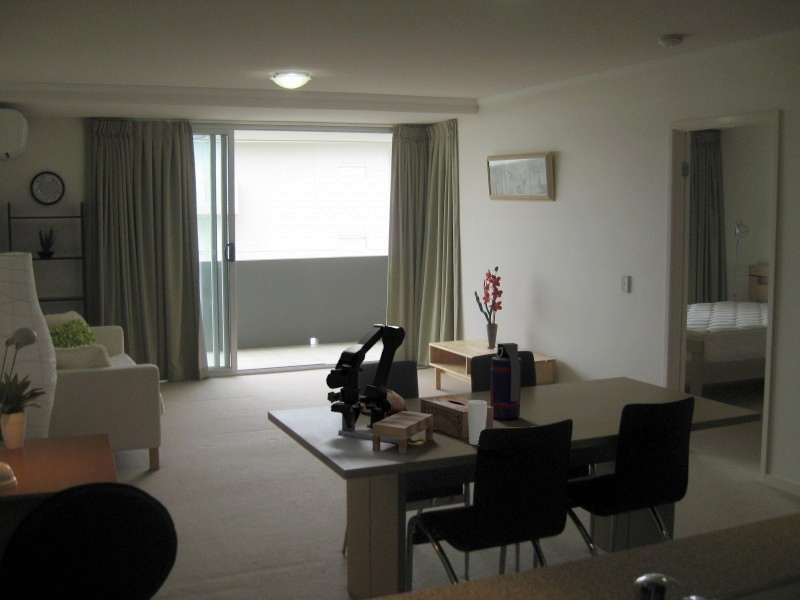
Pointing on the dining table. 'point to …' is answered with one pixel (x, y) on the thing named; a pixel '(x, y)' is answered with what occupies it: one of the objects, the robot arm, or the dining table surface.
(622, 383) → the dining table surface
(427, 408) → the tissue box cover
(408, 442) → the brass token
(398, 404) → the bread
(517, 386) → the grenade
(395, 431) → the wooden footstool
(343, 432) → the blade tool
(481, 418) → the drinking glass
